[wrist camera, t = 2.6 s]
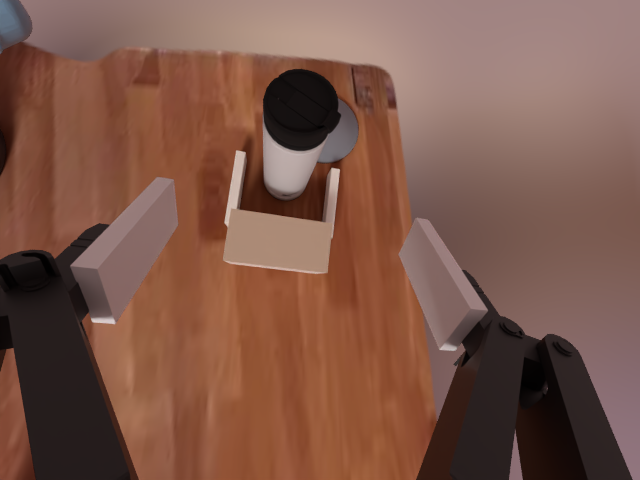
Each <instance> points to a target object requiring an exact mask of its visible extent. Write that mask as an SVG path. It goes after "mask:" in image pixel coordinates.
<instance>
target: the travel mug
mask: <svg viewBox="0 0 640 480" xmlns="http://www.w3.org/2000/svg"><path fill="white" fill-rule="evenodd" d="M338 106H339V102H338V96H337V94H336V91H335V89H334V88H333V86H332V85H331V84H330V82H329V81H328V80H327V79H325V78H324V77H323V76H321V75H319V74H317V73H315V72H312V71H309V70H304V69H294V70H288V71H286V72H284V73H282V74H281V75H279V77H278V78H275V79H274V80H273V81H272V82H271V83H270V84H269V86H268V87H267V89H266V92H265V95H264V99H263V161H264V184H265V187H266V189H267V191H268V192H269V193H270V194H271V195H272V196H273V197H275V198H277V199H279V200H284V201H288V200H293V199H295V198H297V197H299V196H300V195H301V194H302V193H303V191H304V190H305V188H306V185H307V183H308V181H309V179H310V176H311V174H312V172H313V170H314V167H315V165H316V163H317V161H318V158H319V156H320V154H321V151H322V149H323V147H324V145H325V142H326V140H327V138H328V136H329V134H330V133H331V132H333V130H334V129H335V128H336V126H337V125H338V123H339V121H340V118H341V114H340V113H339V112H338Z"/></svg>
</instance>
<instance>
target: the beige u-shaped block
mask: <svg viewBox="0 0 640 480" xmlns="http://www.w3.org/2000/svg"><path fill="white" fill-rule="evenodd" d="M246 164H247V158H246V152H242V151H236V156H235V162H234V168H233V174H232V181H231V187H230V193H229V199H228V205H227V211H226V217H225V224H226V226H227V227H228V231H227V237H226V243H225V249H224V255H223V261H225V262H228V263H230V264H237V265H246V266H254V267H263V268H271V269H280V270H288V271H297V272H305V273H314V274H319V273H327V272H328V262H329V253H330V243H331V239H332V238H333V230H334V220H335V211H336V201H337V192H338V182H339V172H340V169H335V168H331V170H330V172H329V173H328V175H327V182H326V191H325V200H324V209H323V218H322V222H319V221H312V220H306V219H299V218H292V217H286V216H279V215H272V214H265V213H259V212H252V211H245V210H239V208H240V202H241V196H242V189H243V183H244V177H245V170H246Z"/></svg>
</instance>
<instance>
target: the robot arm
mask: <svg viewBox="0 0 640 480" xmlns="http://www.w3.org/2000/svg"><path fill="white" fill-rule="evenodd" d="M31 32H32V22H31V19H30V16H29V15H28V13H27V12H26V10H25V9H24V7H23V5H22V4H21V2H20V1H19V0H0V54H1V53H2V52H3V50H4V49H6V48H8V47H11V46H13V45H15V44H17V43H19V42H21V41H24V40H26V39H27V38H28V37H29V36H30V34H31ZM5 155H6V146H5V140H4V136H3V134H2V131H1V129H0V172H1V170H2V168H3V165H4V161H5ZM177 226H178V217H177V207H176V197H175V187H174V179H168V178H161V177H157V178H156V179H155V180H154V181H153V182H152V183H151V184H150V185H149V186H148V187H147V188H146V189H145V190H144V191H143V192H142V193H141V194H140V195H139V196H138V197H137V198H136V199H135V200H134V201H133V202H132V203H131V204H130V205H129V206H128V207H127V208H126V209H125V210H124V211H123V212H122V213H121V214H120V216H119V217H118V218H117V219H116V220H115V221H114V222H113V223H112V224H111V225H108V224H100V223H99V224H97V225H95V226H93V227H91V228H89V229H87V230H85V231H84V232H83V233H82V234H81V235H80V236H79V237H78V239H77V240H75V241H74V242H73V243H71V244H70V246H68V247H67V248H66V249H65V250H64V251H63V252H62V253H61V254H60V255H59V256H57V257H56V258H55V259H54V258H53V256H52V255H51V254H50V253H49V252H46V251H43V250H27V251H21V252H17V253H14V254H11V255H8V256H6V257H4V258H3V259H1V260H0V371H1V367H2V363H3V360H4V356H5V352H6V349H10V348H14V353H15V359H16V365H17V371H18V377H19V382H20V388H21V394H22V400H23V406H24V412H25V418H26V424H27V430H28V436H29V442H30V448H31V454H32V460H33V465H34V471H35V477H36V480H139V479H138V476H137V474H136V471H135V468H134V465H133V463H132V460H131V457H130V454H129V451H128V449H127V446H126V443H125V440H124V437H123V435H122V432H121V429H120V426H119V423H118V421H117V418H116V415H115V412H114V410H113V407H112V404H111V401H110V398H109V396H108V393H107V390H106V387H105V384H104V382H103V379H102V376H101V373H100V370H99V368H98V365H97V362H96V359H95V357H94V354H93V351H92V348H91V345H90V343H89V340H88V337H87V334H86V331H85V329H84V326H83V324H82V320H83V318H84V317H85V316H86V314H87V313H88V312H89V314H90V317H91V319H92V322H99V323H111V324H116V322H117V321H118V319H119V318H120V316H121V314H122V313H123V311H124V310H125V308H126V307H127V305H128V303H129V302H130V300H131V299H132V297H133V296H134V294H135V292H136V291H137V289H138V288H139V286H140V284H141V283H142V281H143V280H144V278H145V277H146V275H147V273H148V272H149V270H150V269H151V267H152V266H153V264H154V262H155V261H156V259H157V258H158V256H159V254H160V253H161V251H162V250H163V248H164V247H165V245H166V243H167V242H168V240H169V239H170V237H171V236H172V234H173V232H174V231H175V229H176V228H177ZM399 256H400V259H401V261H402V263H403V266H404V268H405V270H406V273H407V275H408V277H409V280H410V282H411V284H412V287H413V289H414V291H415V294H416V296H417V298H418V301H419V303H420V305H421V308H422V310H423V312H424V315H425V317H426V319H427V322H428V324H429V326H430V329H431V331H432V334H433V336H434V338H435V341H436V343H437V345H438V348H439V349H440V350H451V351H455V350H456V349H457V348H458V346H459V345H460V344H461V343H462V344H463V346H464V348H465V349H466V350H465V352H464V353H463V354H462V355H461V357H459V359H458V360H457V361H456V362H455V363H454V365H455V366H456V365H457V364H458V367H457V369H456V372H455V375H454V378H453V380H452V383H451V386H450V389H449V391H448V394H447V397H446V399H445V402H444V405H443V408H442V410H441V413H440V416H439V419H438V421H437V424H436V427H435V430H434V432H433V435H432V438H431V441H430V443H429V446H428V449H427V452H426V454H425V457H424V460H423V463H422V465H421V468H420V471H419V473H418V476H417V479H416V480H509V474H510V466H511V458H512V449H513V441H514V434H515V430H516V436H517V443H518V450H519V456H520V463H521V470H522V476H523V480H632V477H631V475H630V472H629V470H628V468H627V466H626V463H625V460H624V458H623V456H622V453H621V451H620V449H619V446H618V444H617V441H616V439H615V437H614V434H613V432H612V429H611V427H610V424H609V422H608V420H607V417H606V415H605V412H604V410H603V408H602V405H601V403H600V400H599V398H598V396H597V393H596V391H595V388H594V386H593V384H592V382H591V379H590V376H589V374H588V372H587V369H586V367H585V364H584V362H583V360H582V357H581V355H580V354H579V352H578V350H577V349H576V348H575V347H574V346H573V345H572V344H571V343H570V342H568V341H567V340H565V339H563V338H561V337H560V336H557V335H554V334H547V335H546V336H545V337H544V338H543V339H542V340H538V339H536V338H533V337H530V336H527V335H525V333H524V332H523V330H522V329H521V328H520V327H519V326H518V325H517V324H516V323H515V322H513V321H512V320H510V319H508V318H506V317H502V316H500V315H499V314H498V312H497V311H496V309H495V308H494V307H493V305H492V304H491V302H490V301H489V299H488V298H487V296H486V295H485V294H484V292H483V291H482V289H481V288H480V287H479V285H478V283H477V282H476V280H475V279H474V278H473V277H472V276H471V275H470V274H469V273H468V272H467V271H465V270H461V269H460V267H459V266H458V264H457V262H456V261H455V259H454V258H453V256H452V255H451V254H450V252H449V251H448V249H447V247H446V246H445V244H444V243H443V241H442V240H441V238H440V237H439V235H438V234H437V232H436V231H435V229H434V228H433V226H432V225H431V223H430V222H429V220H427V219H420V218H416V219H415V222H414V223H413V225H412V227H411V230H410V232H409V234H408V236H407V238H406V240H405V242H404V244H403V246H402V249H401V251H400V253H399ZM547 387H548V389H547Z"/></svg>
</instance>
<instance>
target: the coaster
mask: <svg viewBox="0 0 640 480" xmlns="http://www.w3.org/2000/svg"><path fill="white" fill-rule="evenodd" d="M338 102H339V106H338V112H339V113H340V114H341V118H340V121H339V123H338V125H337V126H336V128H335V129H334V130H333V132H331V133H330V134H329V136H328V138H327V140H326V142H325V145H324V147H323V149H322V151H321V154H320V156H319V158H318V161H317V162H318V163H333V162H336V161H339V160H341V159H343V158H344V157H346V156H347V155H348V154H349V153H350V152H351V150H352V149H353V147H354V146H355V144H356V141H357V138H358V124H357V120H356V117H355V115H354V113H353V112H352V110H351V109H350V108H349V106H348V105H347V104H346V103H344V102H343V101H342V100H340V99H339V98H338Z"/></svg>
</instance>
